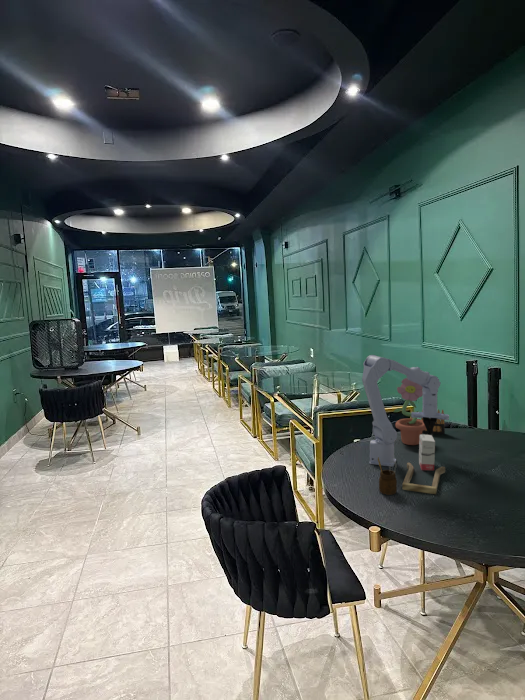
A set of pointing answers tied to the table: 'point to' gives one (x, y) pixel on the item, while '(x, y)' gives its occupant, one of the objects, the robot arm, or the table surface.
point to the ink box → (426, 452)
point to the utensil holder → (387, 481)
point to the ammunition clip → (437, 426)
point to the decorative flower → (410, 426)
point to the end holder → (421, 488)
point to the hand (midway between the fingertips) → (429, 435)
